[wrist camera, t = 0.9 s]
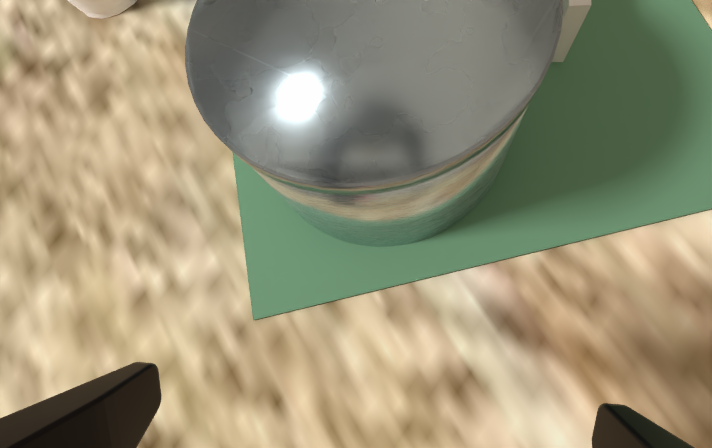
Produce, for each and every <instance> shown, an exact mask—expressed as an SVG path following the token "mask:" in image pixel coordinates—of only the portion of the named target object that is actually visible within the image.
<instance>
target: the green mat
mask: <svg viewBox="0 0 712 448" xmlns="http://www.w3.org/2000/svg"><path fill="white" fill-rule="evenodd" d="M233 160H234V168H235V176H236V184H237V192H238V200H239V208H240V216H241V224H242V232H243V240H244V248H245V256H246V265H247V273H248V281H249V289H250V297H251V305H252V313H253V320H257V319H262V318H266V317H270V316H274V315H278V314H282V313H286V312H290V311H295V310H299V309H303V308H307V307H311V306H315V305H319V304H323V303H327V302H332V301H336V300H340V299H344V298H348V297H352V296H356V295H360V294H364V293H369V292H373V291H377V290H381V289H385V288H389V287H393V286H397V285H402V284H406V283H410V282H414V281H418V280H422V279H426V278H430V277H434V276H439V275H443V274H447V273H451V272H455V271H459V270H463V269H467V268H471V267H476V266H480V265H484V264H488V263H492V262H496V261H500V260H504V259H509V258H513V257H517V256H521V255H525V254H529V253H533V252H537V251H541V250H546V249H550V248H554V247H558V246H562V245H566V244H570V243H574V242H578V241H583V240H587V239H591V238H595V237H599V236H603V235H607V234H611V233H616V232H620V231H624V230H628V229H632V228H636V227H640V226H644V225H648V224H653V223H657V222H661V221H665V220H669V219H673V218H677V217H681V216H685V215H690V214H694V213H698V212H702V211H706V210H710V209H712V30H711V29H710V27H709V26H708V24H707V23H706V21H705V20H704V18H703V17H702V15H701V14H700V12H699V11H698V9H697V8H696V6H695V5H694V3H693V2H692V0H591V7H590V9H589V11H588V13H587V15H586V17H585V19H584V21H583V23H582V25H581V27H580V29H579V31H578V33H577V35H576V37H575V39H574V41H573V43H572V45H571V47H570V49H569V51H568V53H567V55H566V57H565V59H564V61H563V62H551V64H550V66H549V68H548V70H547V72H546V74H545V76H544V78H543V81H542V83H541V85H540V87H539V89H538V91H537V93H536V95H535V96H534V98H533V99H532V101H531V102H530V103H529V105H528V108H527V110H526V112H525V114H524V116H523V119H522V121H521V123H520V125H519V128H518V130H517V132H516V134H515V137H514V139H513V141H512V143H511V146H510V148H509V150H508V152H507V155H506V157H505V159H504V161H503V164H502V166H501V168H500V170H499V172H498V174H497V176H496V178H495V181H494V183H493V185H492V186H491V188H490V189H489V191H488V192H487V193H486V195H485V196H484V198H483V199H482V200H481V201H480V202H479V203H478V205H477V206H476V207H475V208H474V209H473V210H472V211H471V212H470V213H469V214H467V215H466V216H465V217H464V218H463V219H461V220H460V221H459V222H457V223H456V224H454V225H453V226H451V227H450V228H448V229H446V230H445V231H443V232H440V233H438V234H436V235H434V236H432V237H430V238H427V239H424V240H421V241H417V242H414V243H410V244H404V245H399V246H387V247H374V246H362V245H357V244H352V243H348V242H345V241H342V240H339V239H336V238H333V237H331V236H329V235H327V234H325V233H323V232H321V231H319V230H318V229H316V228H315V227H314V226H312V225H311V224H309V223H308V222H307V221H306V220H304V219H303V218H302V217H301V216H300V215H299V214H298V213H297V212H296V211H295V210H294V209H293V208H292V207H291V206H290V205H289V204H288V203H287V202H286V201H285V200H284V199H283V198H282V197H281V196H280V195H279V194H278V193H277V192H276V191H275V190H274V189H273V188H272V187H271V186H270V185H269V184H268V183H267V182H266V181H265V180H264V179H263V178H262V177H261V176H260V175H259V174H258V173H257V172H256V171H255V170H254V169H253V168H252V167H251V166H249V165H248V164H246V163H245V162H243V161H242V160H241V159H240V158H239V157H238V156H237V155H236V154H235V153H233Z"/></svg>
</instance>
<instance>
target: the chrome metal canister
mask: <svg viewBox="0 0 712 448" xmlns="http://www.w3.org/2000/svg"><path fill="white" fill-rule="evenodd" d="M562 19H563V0H197V2H196V4H195V7H194V9H193V12H192V15H191V19H190V23H189V26H188V31H187V38H186V46H185V66H186V72H187V78H188V84H189V87H190V90H191V93H192V96H193V99H194V102H195V104H196V106H197V108H198V110H199V112H200V114H201V115H202V117H203V119H204V121H205V122H206V123H207V125H208V126H209V127H210V128H211V130H212V131H213V132H214V134H215V135H216V136H217V137H218V138H219V139H220V140H221V141H222V142H223V143H224V144H225V145H226V146H227V147H228V148H229V149H230V150H231V151H232V152H233V153H235V154H236V155H237V156H238V157H239V158H240V159H241V160H242V161H243V162H245V163H246V164H248V165H249V166H251V167H252V168H253V169H254V170H255V171H256V172H257V173H258V174H259V175H260V176H261V177H262V178H263V179H264V180H265V181H266V182H267V183H268V184H269V185H270V186H271V187H272V188H273V189H274V190H275V191H276V192H277V193H278V194H279V195H280V196H281V197H282V198H283V199H284V200H285V201H286V202H287V203H288V204H289V205H290V206H291V207H292V208H293V209H294V210H295V211H296V212H297V213H298V214H299V215H300V216H301V217H302V218H303V219H304V220H306V221H307V222H308V223H309V224H311V225H312V226H314V227H315V228H316V229H318V230H319V231H321V232H323V233H325V234H327V235H329V236H331V237H333V238H336V239H339V240H342V241H345V242H348V243H352V244H357V245H362V246H374V247H387V246H399V245H404V244H410V243H414V242H417V241H421V240H424V239H427V238H430V237H432V236H434V235H436V234H438V233H440V232H443V231H445V230H446V229H448V228H450V227H451V226H453V225H454V224H456V223H457V222H459V221H460V220H461V219H463V218H464V217H465V216H466V215H467V214H469V213H470V212H471V211H472V210H473V209H474V208H475V207H476V206H477V205H478V203H479V202H480V201H481V200H482V199H483V198H484V196H485V195H486V193H487V192H488V191H489V189H490V188H491V186H492V185H493V183H494V181H495V178H496V176H497V174H498V172H499V170H500V168H501V166H502V164H503V161H504V159H505V157H506V155H507V152H508V150H509V148H510V146H511V143H512V141H513V139H514V137H515V134H516V132H517V130H518V128H519V125H520V123H521V121H522V119H523V116H524V114H525V112H526V110H527V108H528V105H529V103H530V102H531V101H532V99H533V98H534V96H535V95H536V93H537V91H538V89H539V87H540V85H541V83H542V81H543V78H544V76H545V74H546V72H547V70H548V68H549V66H550V64H551V61H552V59H553V57H554V54H555V51H556V47H557V44H558V41H559V37H560V34H561V27H562Z"/></svg>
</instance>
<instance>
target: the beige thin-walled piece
mask: <svg viewBox="0 0 712 448" xmlns="http://www.w3.org/2000/svg"><path fill="white" fill-rule="evenodd" d="M590 7H591V0H563V19H562V27H561V34H560V37H559V41H558V44H557V47H556V51H555V54H554V57H553V59H552V61H551V62H563V61H564V59H565V57H566V55H567V53H568V51H569V49H570V47H571V45H572V43H573V41H574V39H575V37H576V35H577V33H578V31H579V29H580V27H581V25H582V23H583V21H584V19H585V17H586V15H587V13H588V11H589V9H590Z"/></svg>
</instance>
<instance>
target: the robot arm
mask: <svg viewBox="0 0 712 448" xmlns="http://www.w3.org/2000/svg"><path fill="white" fill-rule="evenodd" d="M160 403H161V389H160V380H159V372H158V368H157V366H156V365H155V364H153V363H144V362H135V363H132V364H130V365H128V366H125V367H123V368H120V369H118V370H116V371H113V372H111V373H108V374H106V375H104V376H101V377H99V378H96V379H94V380H92V381H89V382H87V383H84V384H82V385H80V386H77V387H75V388H72V389H70V390H68V391H65V392H63V393H60V394H58V395H56V396H53V397H51V398H48V399H46V400H44V401H41V402H39V403H36V404H34V405H32V406H29V407H27V408H24V409H22V410H20V411H17V412H15V413H12V414H10V415H8V416H5V417H3V418H0V448H137V446H138V444H139V443H140V441H141V439H142V437H143V435H144V434H145V432H146V430H147V428H148V426H149V425H150V423H151V421H152V419H153V418H154V416H155V414H156V412H157V410H158V408H159V406H160ZM592 448H694V447H693V446H691V445H689V444H688V443H686V442H684V441H683V440H681V439H680V438H678V437H676V436H675V435H673V434H671V433H670V432H668V431H667V430H665V429H663V428H662V427H660V426H658V425H657V424H655V423H654V422H652V421H650V420H649V419H647V418H645V417H644V416H642V415H641V414H639V413H637V412H636V411H634V410H632V409H631V408H629V407H627V406H625V405H619V404H608V403H604V404H601V405H600V406H599V408H598V411H597V416H596V421H595V426H594V431H593V436H592Z"/></svg>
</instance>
